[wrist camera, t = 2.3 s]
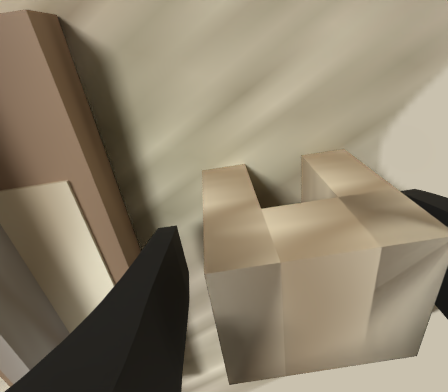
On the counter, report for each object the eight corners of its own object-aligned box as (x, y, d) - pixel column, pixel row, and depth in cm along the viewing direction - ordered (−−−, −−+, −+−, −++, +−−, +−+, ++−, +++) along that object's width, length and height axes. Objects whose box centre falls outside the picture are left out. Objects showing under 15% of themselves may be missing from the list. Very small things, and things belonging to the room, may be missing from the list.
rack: (56, 15, 7) (-50, -4, 4) (181, 364, 15) (176, 449, 12) (-209, 55, 7) (-512, 66, 4) (52, 384, 15) (14, 475, 12)
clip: (344, 148, 10) (457, 235, 6) (336, 239, 12) (416, 355, 7) (202, 170, 10) (204, 274, 6) (218, 257, 12) (229, 384, 7)
